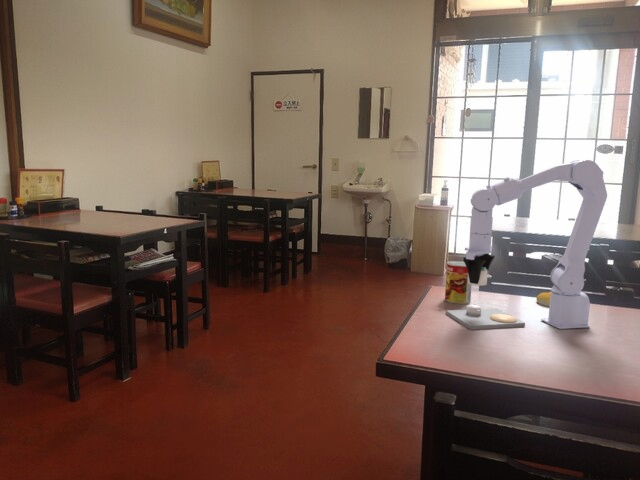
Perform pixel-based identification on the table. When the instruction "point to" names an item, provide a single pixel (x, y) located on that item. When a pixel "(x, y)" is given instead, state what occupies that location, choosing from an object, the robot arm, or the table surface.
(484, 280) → the cap
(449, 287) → the canned food
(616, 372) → the table surface
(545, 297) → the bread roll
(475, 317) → the post board
